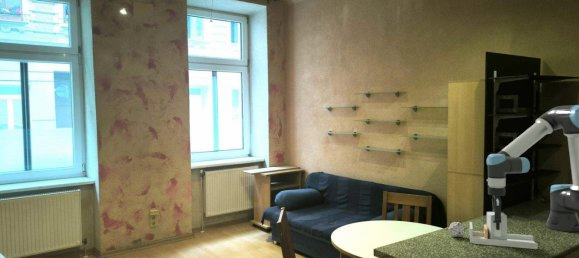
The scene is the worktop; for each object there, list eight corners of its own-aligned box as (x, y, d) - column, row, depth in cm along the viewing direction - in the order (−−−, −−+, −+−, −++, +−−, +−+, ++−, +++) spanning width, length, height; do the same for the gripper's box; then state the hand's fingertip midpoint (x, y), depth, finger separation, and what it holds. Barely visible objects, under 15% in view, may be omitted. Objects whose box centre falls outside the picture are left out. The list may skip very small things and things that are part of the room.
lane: (533, 240, 202) (533, 226, 202) (537, 249, 190) (537, 233, 190) (469, 235, 212) (469, 221, 212) (470, 243, 200) (469, 228, 200)
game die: (459, 245, 209) (464, 233, 202) (443, 237, 213) (446, 224, 207) (466, 233, 214) (470, 220, 208) (449, 225, 218) (453, 213, 212)
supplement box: (507, 242, 198) (507, 215, 197) (490, 241, 199) (490, 215, 199) (502, 237, 205) (502, 211, 204) (486, 237, 206) (486, 211, 206)
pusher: (486, 236, 208) (486, 224, 208) (487, 242, 199) (487, 229, 199) (483, 236, 208) (483, 224, 208) (484, 241, 200) (484, 229, 199)
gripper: (486, 182, 212) (486, 227, 213) (489, 189, 193) (489, 239, 194) (503, 183, 209) (503, 228, 210) (507, 190, 190) (507, 240, 191)
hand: (496, 233), depth 202 cm, fingers closed on supplement box, 8 cm apart
